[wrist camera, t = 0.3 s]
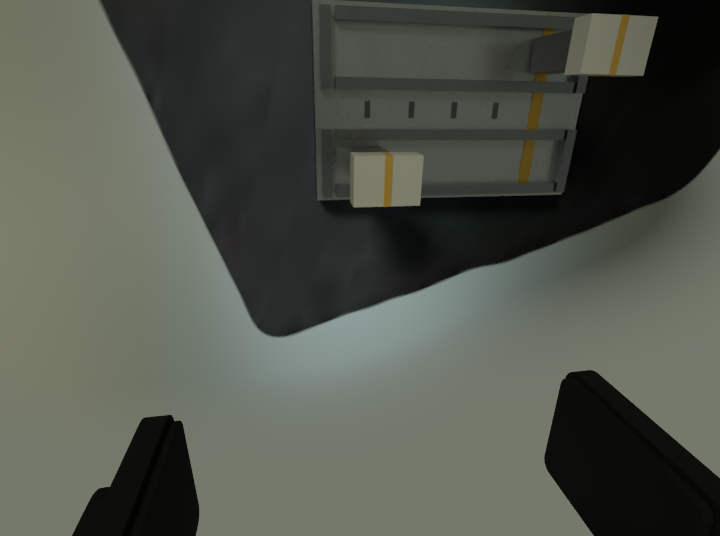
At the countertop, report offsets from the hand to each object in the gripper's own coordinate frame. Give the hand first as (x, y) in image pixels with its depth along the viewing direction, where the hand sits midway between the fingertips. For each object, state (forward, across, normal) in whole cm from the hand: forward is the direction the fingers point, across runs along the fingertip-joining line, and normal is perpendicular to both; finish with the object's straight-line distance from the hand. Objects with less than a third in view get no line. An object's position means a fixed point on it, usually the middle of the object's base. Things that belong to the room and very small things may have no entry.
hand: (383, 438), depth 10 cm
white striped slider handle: (+25, -18, -11) cm, 33 cm away
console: (+28, -11, -7) cm, 31 cm away
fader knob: (+25, -4, -3) cm, 26 cm away
